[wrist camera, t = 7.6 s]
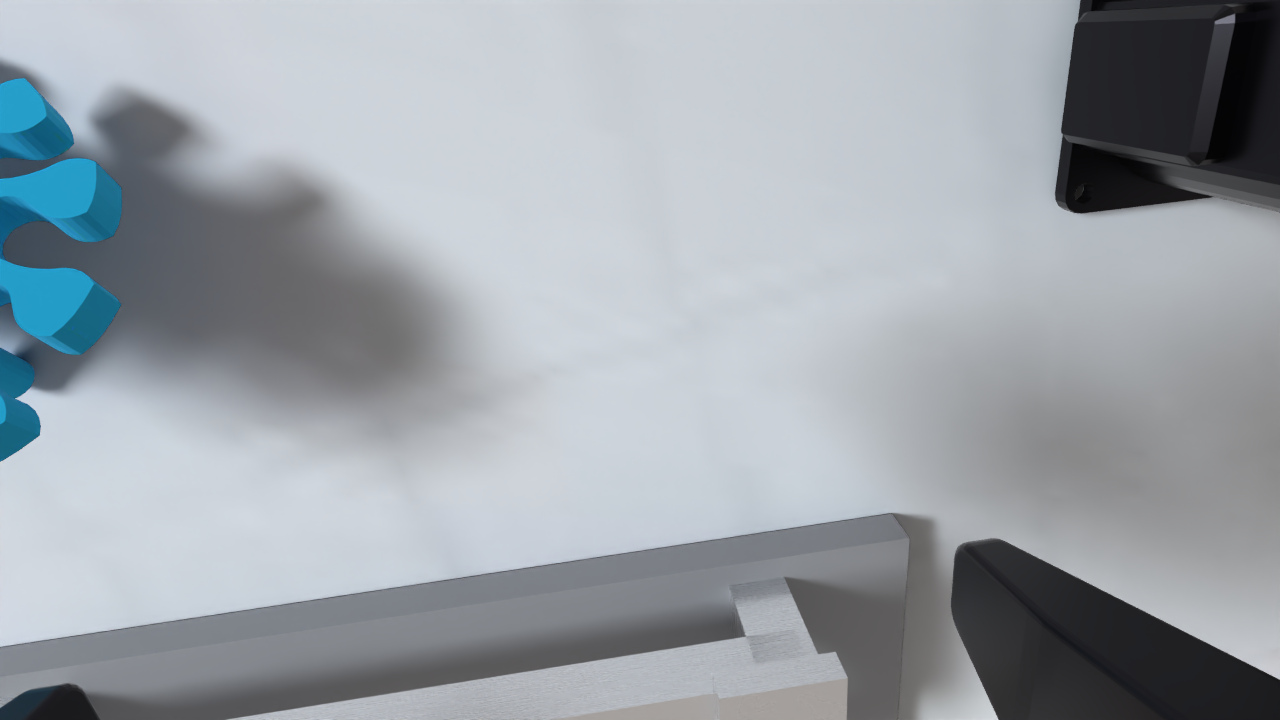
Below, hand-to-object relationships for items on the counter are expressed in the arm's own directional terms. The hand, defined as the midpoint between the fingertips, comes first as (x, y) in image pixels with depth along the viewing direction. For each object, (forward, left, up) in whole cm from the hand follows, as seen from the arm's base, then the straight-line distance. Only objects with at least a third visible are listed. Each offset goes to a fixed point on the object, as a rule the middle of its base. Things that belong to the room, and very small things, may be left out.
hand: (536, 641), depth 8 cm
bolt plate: (+4, +13, -12) cm, 18 cm away
